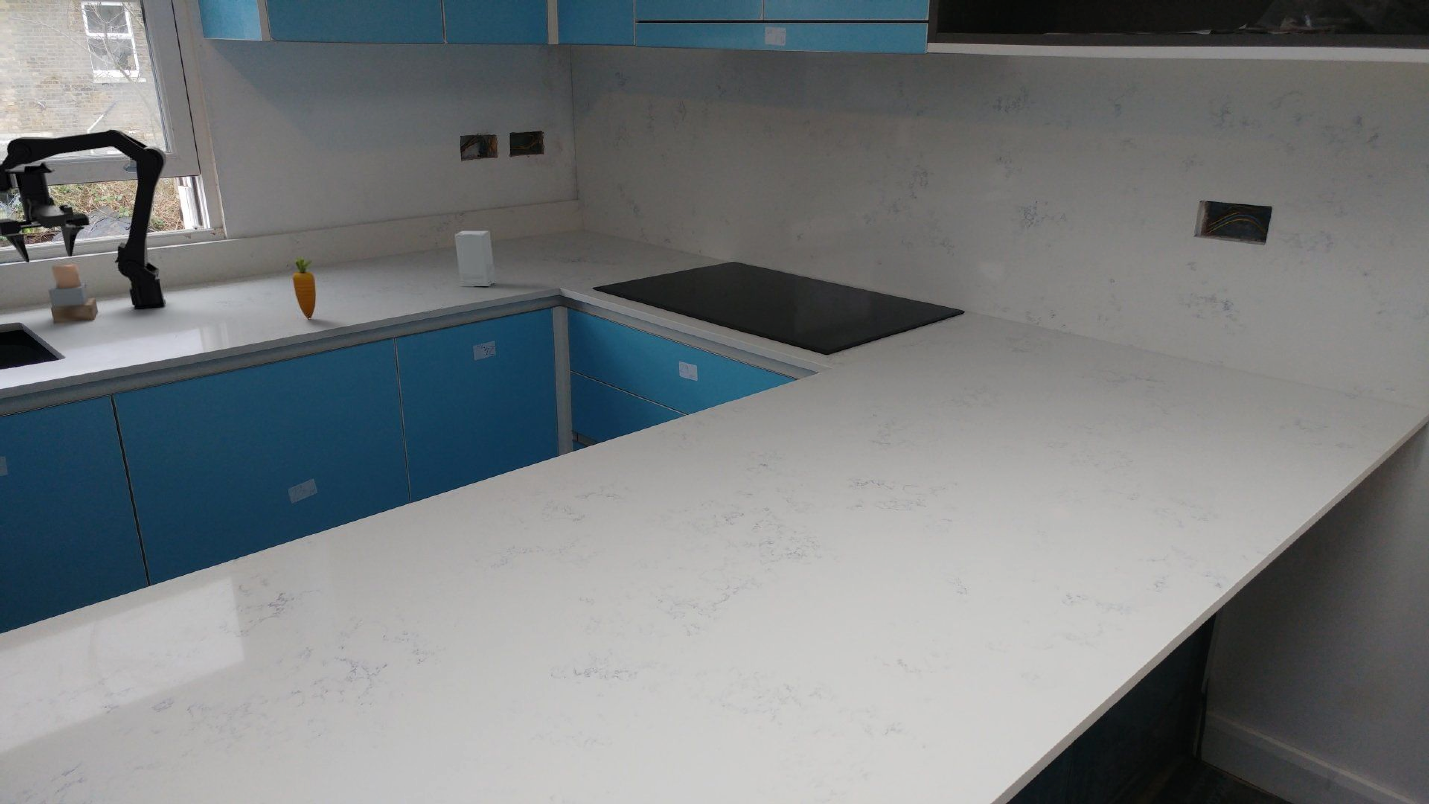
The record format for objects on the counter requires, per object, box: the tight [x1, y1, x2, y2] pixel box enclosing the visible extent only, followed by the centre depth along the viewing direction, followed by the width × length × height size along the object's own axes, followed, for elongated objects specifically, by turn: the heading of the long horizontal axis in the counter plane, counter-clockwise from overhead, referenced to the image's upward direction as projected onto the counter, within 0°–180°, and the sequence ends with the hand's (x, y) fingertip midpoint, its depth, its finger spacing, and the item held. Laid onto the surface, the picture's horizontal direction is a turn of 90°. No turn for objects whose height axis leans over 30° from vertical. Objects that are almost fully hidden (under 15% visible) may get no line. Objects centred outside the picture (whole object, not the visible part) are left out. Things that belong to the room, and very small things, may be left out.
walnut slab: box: [50, 297, 99, 324], centre depth 225 cm, size 8×8×4 cm
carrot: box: [292, 257, 317, 320], centre depth 224 cm, size 5×5×15 cm
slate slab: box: [48, 282, 90, 307], centre depth 224 cm, size 6×6×4 cm
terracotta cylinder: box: [51, 262, 82, 289], centre depth 222 cm, size 5×5×5 cm
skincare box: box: [454, 230, 496, 287], centre depth 260 cm, size 8×6×15 cm
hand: (49, 259), depth 225 cm, fingers open, 9 cm apart
